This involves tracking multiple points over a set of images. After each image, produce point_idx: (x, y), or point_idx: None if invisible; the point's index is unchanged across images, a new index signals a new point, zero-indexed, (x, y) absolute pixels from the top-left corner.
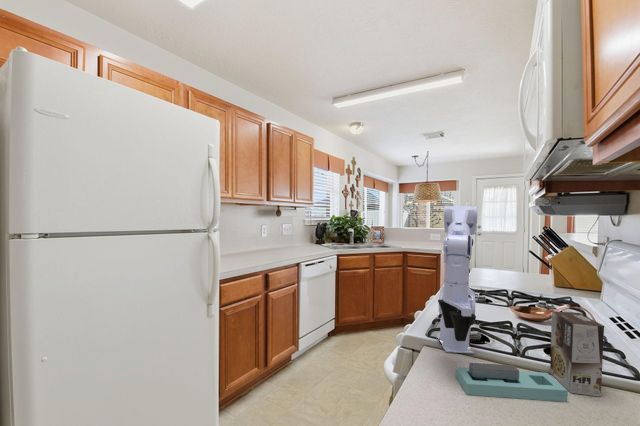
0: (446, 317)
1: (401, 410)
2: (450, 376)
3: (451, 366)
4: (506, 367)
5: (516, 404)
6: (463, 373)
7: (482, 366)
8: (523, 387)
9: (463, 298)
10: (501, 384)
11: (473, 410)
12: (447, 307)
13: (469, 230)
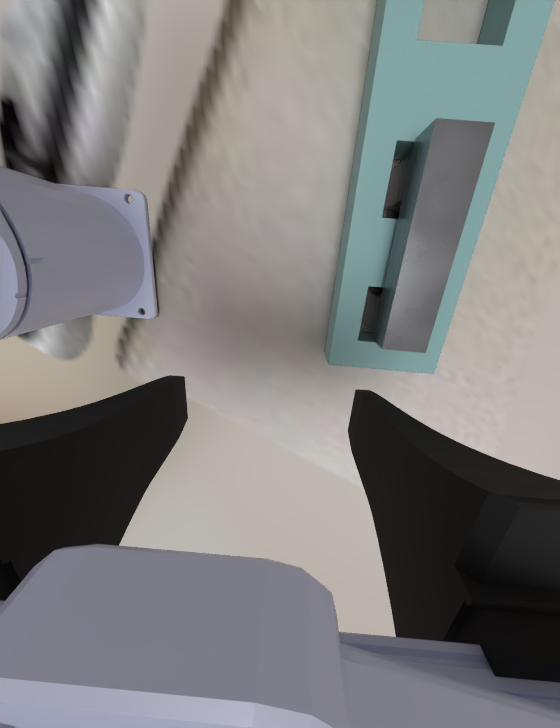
0: (153, 463)
1: None
2: (319, 366)
3: (258, 338)
4: (448, 182)
5: (492, 222)
6: (371, 357)
7: (420, 308)
8: (502, 155)
9: None
10: (461, 248)
11: (483, 374)
12: (92, 536)
13: None
